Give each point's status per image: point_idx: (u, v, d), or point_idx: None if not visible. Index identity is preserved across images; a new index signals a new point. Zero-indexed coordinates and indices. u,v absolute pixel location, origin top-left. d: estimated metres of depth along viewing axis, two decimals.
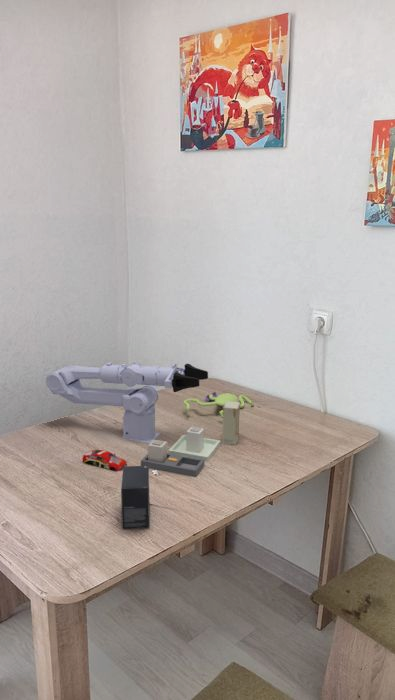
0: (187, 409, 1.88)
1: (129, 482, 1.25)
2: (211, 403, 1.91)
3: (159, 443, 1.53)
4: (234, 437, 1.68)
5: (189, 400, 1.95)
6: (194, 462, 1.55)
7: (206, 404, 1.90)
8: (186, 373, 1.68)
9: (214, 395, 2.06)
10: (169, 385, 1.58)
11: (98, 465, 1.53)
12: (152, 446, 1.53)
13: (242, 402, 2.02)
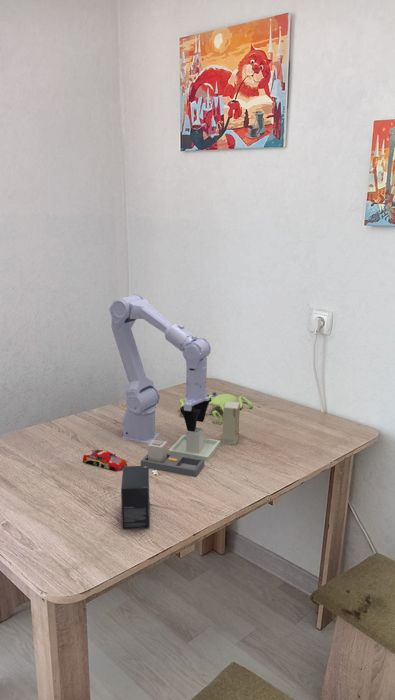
0: None
1: (129, 482, 1.25)
2: None
3: (159, 443, 1.53)
4: (234, 437, 1.68)
5: None
6: (194, 462, 1.55)
7: None
8: None
9: (214, 395, 2.06)
10: (186, 409, 1.55)
11: (98, 465, 1.53)
12: (152, 446, 1.53)
13: (240, 403, 2.00)
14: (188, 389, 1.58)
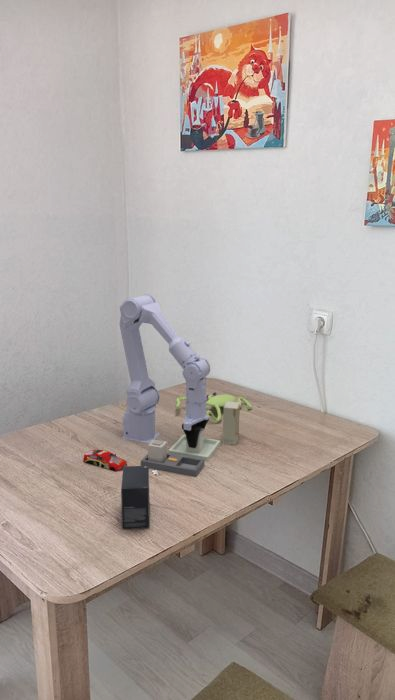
0: (176, 406, 1.90)
1: (129, 482, 1.25)
2: None
3: (159, 443, 1.53)
4: (234, 437, 1.68)
5: (183, 398, 1.97)
6: (194, 462, 1.55)
7: None
8: None
9: (214, 395, 2.06)
10: (186, 428, 1.56)
11: (98, 465, 1.53)
12: (152, 446, 1.53)
13: None
14: (188, 408, 1.60)
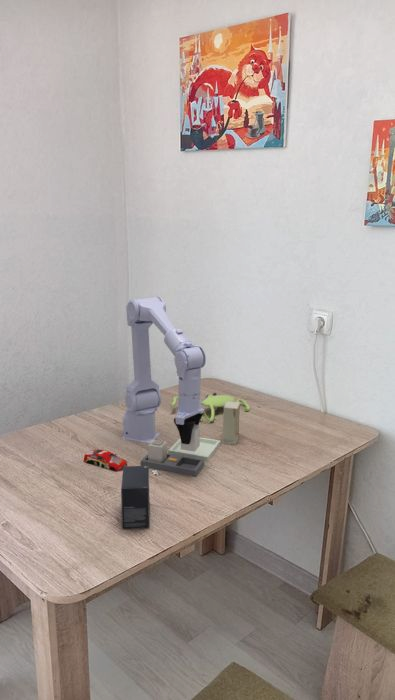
0: (171, 405, 1.91)
1: (129, 482, 1.25)
2: None
3: (159, 443, 1.53)
4: (234, 437, 1.68)
5: None
6: (194, 462, 1.55)
7: None
8: None
9: (214, 396, 2.06)
10: (178, 423, 1.42)
11: (99, 465, 1.53)
12: (152, 446, 1.53)
13: None
14: (180, 401, 1.46)
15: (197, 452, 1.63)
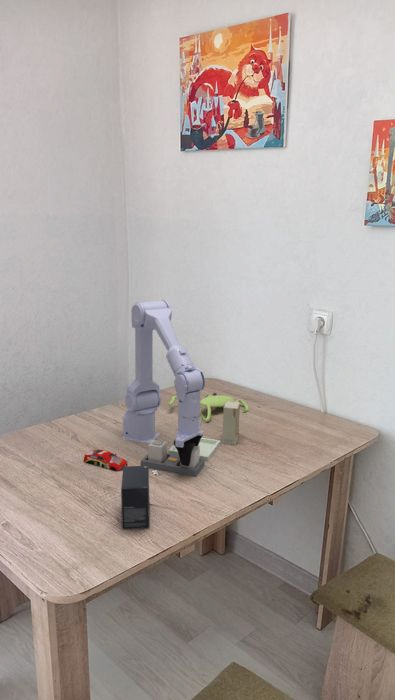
0: (169, 404, 1.92)
1: (129, 482, 1.25)
2: None
3: (159, 443, 1.53)
4: (234, 437, 1.68)
5: None
6: None
7: None
8: None
9: (214, 396, 2.06)
10: (178, 445, 1.44)
11: (99, 465, 1.53)
12: (152, 446, 1.53)
13: None
14: (180, 423, 1.48)
15: None
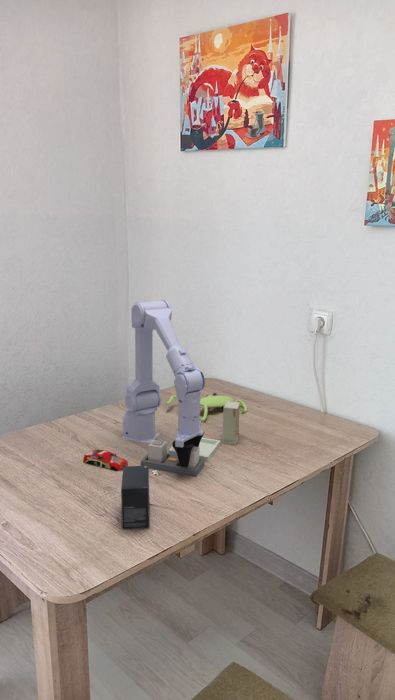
0: (167, 403, 1.93)
1: (129, 482, 1.25)
2: None
3: (159, 443, 1.53)
4: (234, 437, 1.68)
5: None
6: None
7: None
8: None
9: (214, 396, 2.06)
10: (178, 445, 1.44)
11: (99, 465, 1.53)
12: (152, 446, 1.53)
13: None
14: (180, 423, 1.48)
15: None
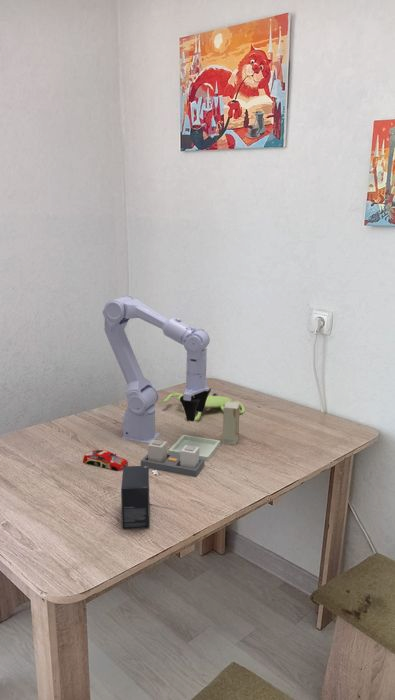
0: (163, 401, 1.95)
1: (129, 482, 1.25)
2: None
3: (159, 443, 1.53)
4: (234, 437, 1.68)
5: (177, 394, 2.00)
6: None
7: None
8: None
9: None
10: (185, 399, 1.57)
11: (99, 465, 1.53)
12: (152, 446, 1.53)
13: None
14: (188, 379, 1.61)
15: None
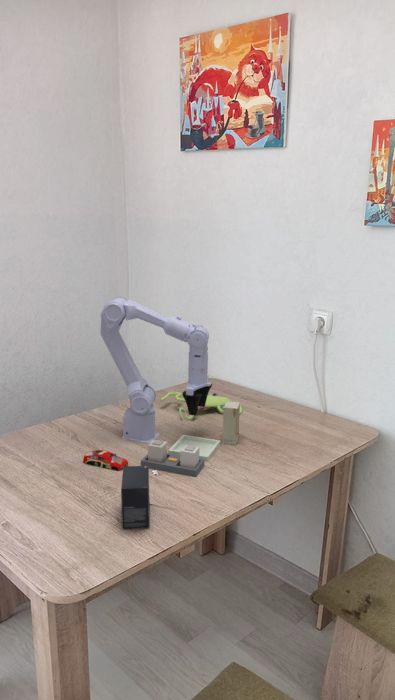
0: (160, 399, 1.96)
1: (129, 482, 1.25)
2: (184, 399, 1.94)
3: (159, 443, 1.53)
4: (234, 437, 1.68)
5: (176, 393, 2.02)
6: None
7: (179, 399, 1.94)
8: None
9: None
10: (188, 394, 1.61)
11: (100, 465, 1.53)
12: (152, 446, 1.53)
13: None
14: (190, 375, 1.65)
15: None
